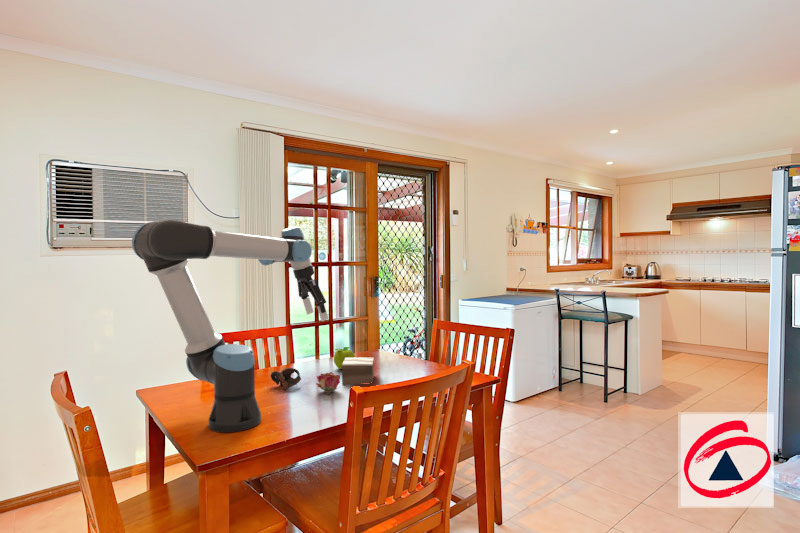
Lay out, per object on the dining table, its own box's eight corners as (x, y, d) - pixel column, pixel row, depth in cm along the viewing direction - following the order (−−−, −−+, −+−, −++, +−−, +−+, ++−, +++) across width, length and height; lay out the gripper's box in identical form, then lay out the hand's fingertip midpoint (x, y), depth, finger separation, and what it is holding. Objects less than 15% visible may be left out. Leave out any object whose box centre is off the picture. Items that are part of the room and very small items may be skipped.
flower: (343, 391, 165) (343, 370, 169) (319, 389, 161) (319, 368, 166) (335, 400, 172) (336, 380, 176) (311, 398, 168) (312, 378, 173)
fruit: (329, 369, 203) (329, 347, 203) (344, 365, 210) (344, 344, 210) (343, 373, 197) (343, 350, 197) (358, 368, 204) (358, 346, 204)
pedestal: (372, 384, 180) (372, 364, 179) (342, 384, 180) (342, 364, 179) (374, 376, 192) (373, 357, 191) (345, 376, 192) (345, 357, 191)
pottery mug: (301, 383, 184) (304, 368, 180) (295, 400, 175) (297, 385, 171) (272, 376, 183) (274, 361, 179) (264, 393, 175) (266, 377, 171)
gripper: (325, 266, 166) (340, 318, 172) (298, 260, 186) (312, 307, 192) (306, 273, 162) (322, 327, 168) (281, 266, 182) (296, 314, 188)
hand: (317, 316), depth 180 cm, fingers open, 13 cm apart
